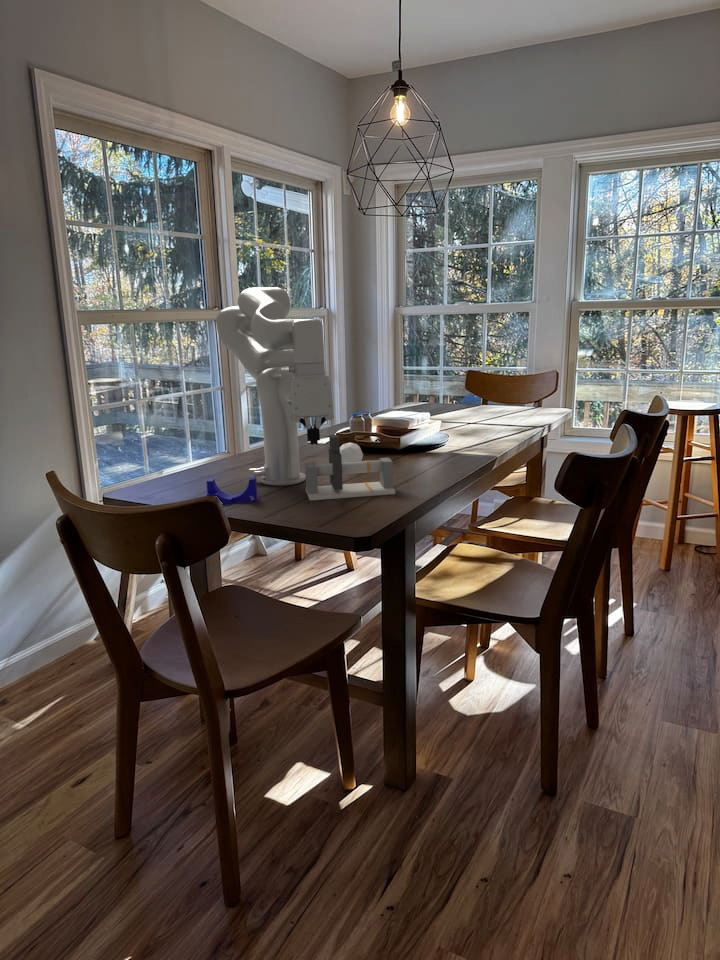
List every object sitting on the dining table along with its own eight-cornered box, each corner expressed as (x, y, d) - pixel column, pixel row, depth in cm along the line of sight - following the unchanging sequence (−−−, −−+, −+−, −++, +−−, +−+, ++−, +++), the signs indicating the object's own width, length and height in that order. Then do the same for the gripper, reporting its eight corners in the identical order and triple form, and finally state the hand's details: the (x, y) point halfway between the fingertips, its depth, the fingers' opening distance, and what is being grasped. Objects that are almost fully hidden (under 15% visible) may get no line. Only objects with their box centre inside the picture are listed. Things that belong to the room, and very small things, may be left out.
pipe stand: (309, 500, 168) (308, 469, 166) (305, 490, 178) (304, 460, 176) (395, 493, 172) (394, 463, 170) (386, 484, 181) (386, 455, 179)
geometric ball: (354, 474, 206) (367, 452, 206) (353, 471, 198) (367, 448, 198) (333, 462, 206) (346, 440, 207) (331, 458, 198) (345, 435, 199)
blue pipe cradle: (207, 506, 167) (205, 482, 165) (210, 501, 171) (208, 478, 170) (255, 504, 167) (254, 480, 166) (257, 499, 172) (256, 476, 170)
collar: (334, 490, 169) (332, 439, 166) (330, 482, 178) (327, 433, 175) (342, 489, 169) (340, 439, 166) (337, 481, 178) (335, 433, 175)
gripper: (280, 372, 161) (285, 448, 165) (342, 369, 163) (345, 444, 167) (278, 371, 168) (283, 443, 172) (337, 368, 170) (340, 439, 174)
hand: (313, 443), depth 169 cm, fingers closed
